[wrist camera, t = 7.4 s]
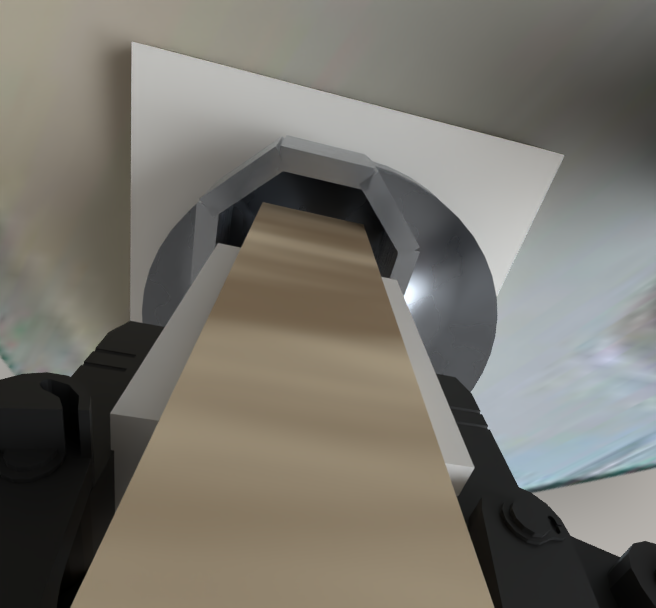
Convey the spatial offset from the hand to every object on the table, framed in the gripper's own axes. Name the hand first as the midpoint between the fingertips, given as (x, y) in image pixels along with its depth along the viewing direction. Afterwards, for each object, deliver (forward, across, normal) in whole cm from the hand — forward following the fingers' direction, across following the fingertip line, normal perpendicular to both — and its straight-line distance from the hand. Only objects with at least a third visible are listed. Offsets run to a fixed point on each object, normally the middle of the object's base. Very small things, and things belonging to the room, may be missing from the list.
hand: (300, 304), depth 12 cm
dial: (+7, +2, -4) cm, 9 cm away
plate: (+10, +1, -4) cm, 10 cm away
